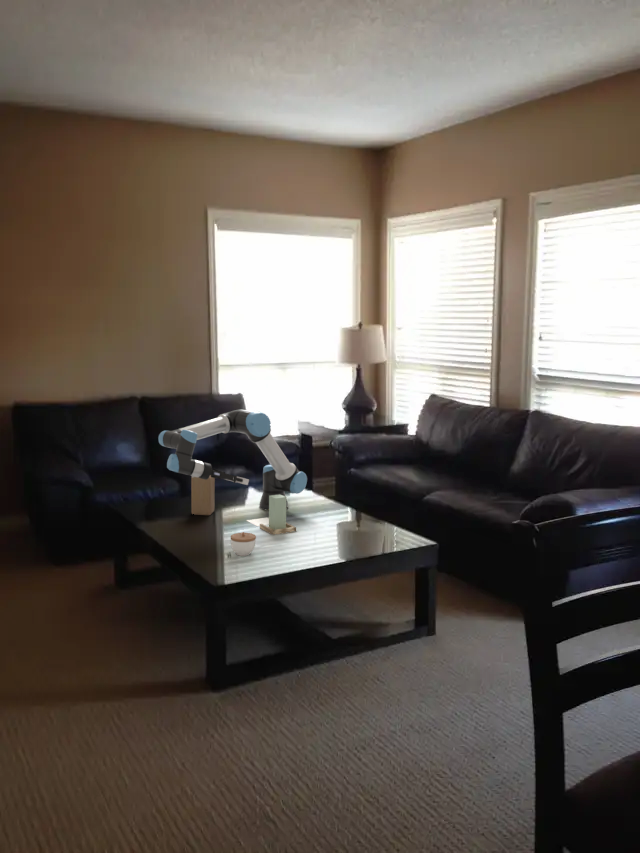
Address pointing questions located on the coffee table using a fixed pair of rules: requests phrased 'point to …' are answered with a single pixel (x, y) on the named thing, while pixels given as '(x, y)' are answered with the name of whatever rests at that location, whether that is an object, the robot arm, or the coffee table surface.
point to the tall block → (277, 512)
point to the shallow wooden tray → (278, 531)
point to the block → (202, 496)
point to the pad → (259, 521)
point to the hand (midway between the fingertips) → (242, 481)
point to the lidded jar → (243, 543)
